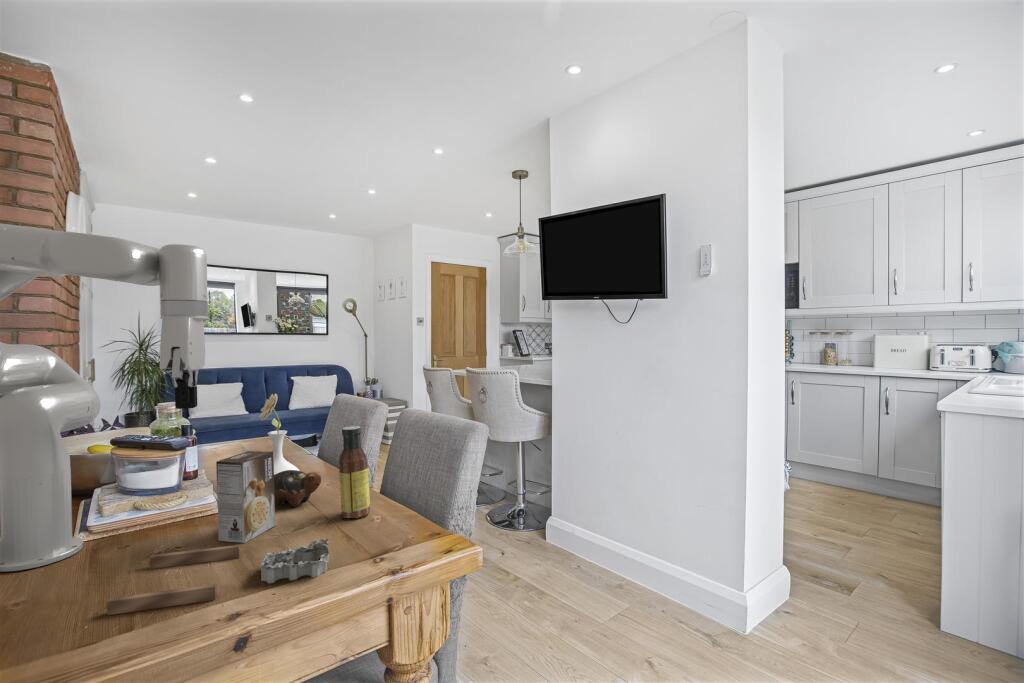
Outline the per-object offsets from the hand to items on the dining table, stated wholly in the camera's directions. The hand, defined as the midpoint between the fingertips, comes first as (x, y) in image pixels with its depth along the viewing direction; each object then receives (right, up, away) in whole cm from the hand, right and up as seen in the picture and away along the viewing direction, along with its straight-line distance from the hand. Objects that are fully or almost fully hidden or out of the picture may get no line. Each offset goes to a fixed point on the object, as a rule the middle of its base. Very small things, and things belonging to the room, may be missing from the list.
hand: (186, 407), depth 94 cm
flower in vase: (-3, -27, +43) cm, 51 cm away
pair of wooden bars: (+7, -27, -12) cm, 31 cm away
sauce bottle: (+26, -27, +18) cm, 42 cm away
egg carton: (+25, -28, -9) cm, 38 cm away
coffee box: (+7, -27, +8) cm, 29 cm away
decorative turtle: (+8, -27, +26) cm, 38 cm away
